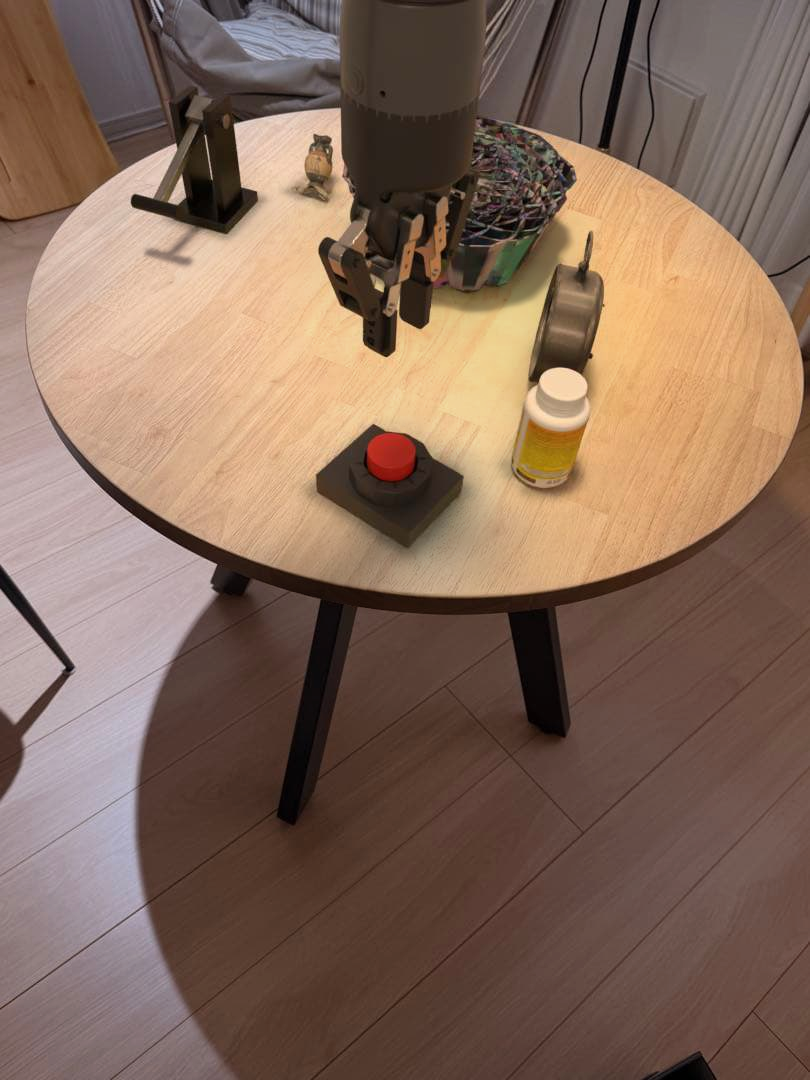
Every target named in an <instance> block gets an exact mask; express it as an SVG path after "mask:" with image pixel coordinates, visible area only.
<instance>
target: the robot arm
mask: <svg viewBox="0 0 810 1080" xmlns="http://www.w3.org/2000/svg"><path fill="white" fill-rule="evenodd" d="M486 38H487V0H341V6H340V16H339V86H340V89H339V90H340V91H339V92H340V143H341V144H340V145H341V146H340V148H341V149H340V150H341V152H340V153H341V158H342V162H343V165H344V164H345V166H346V167H347V169H348V171H349V173H350V175H351V177H352V179H353V181H354V184H355V195H354V198H353V199H352V204H351V207H350V211H349V221H350V225H349V226H348V227H347V229H346V230H345V231H344V232H343V234H342V235H341V236H340V237H339V238H338V240H336V239H333V238H332V237H330V236H325V237H324V238H323V239H321V241H320V243H319V245H318V249H317V253H318V256H319V259H320V261H321V264H322V267H323V269H324V271H325V273H326V276H327V278H328V280H329V283H330V284H331V287H332V290H333V293H334V295H335V296H336V299H337V301H338V303H339V305H340V307H342V308H344V309H346V310H348V311H350V312H352V313H354V314H355V315H357V316H359V317H361V318H362V342H363V343H362V344H363V345H364V346H365V347H367V348H368V349H369V350H371V351H373V352H374V353H377V354H378V355H380V356H382V357H384V358H388V357H390V356H391V355H392V354H393V353H395V352H396V349H397V348H396V347H397V332H398V331H397V330H398V329H397V328H398V315H399V318H400V320H401V321H403V322H404V323H406V324H408V325H410V326H412V327H414V328H415V329H419V330H422V329H423V328H425V327H426V326H427V325H429V324H430V318H431V317H430V316H431V308H432V302H433V301H432V300H433V290H434V287H433V282H434V281H436V280H437V278H438V277H439V275H440V272H441V263H442V262H443V260H446V261H448V262H450V261H452V260H453V258H454V257H455V255H456V252H457V248H458V245H459V242H460V239H461V235H462V232H463V229H464V226H465V222H466V219H467V216H468V213H469V209H470V206H471V203H472V200H473V196H474V193H475V190H476V187H477V183H478V180H479V172H478V171H477V170H474V169H472V168H470V164H471V159H472V151H473V142H474V134H475V125H476V117H477V115H478V109H479V100H480V92H481V85H482V84H481V82H482V75H483V65H484V58H485V50H486ZM445 221H447V222H448V223H449V230H448V233H447V237H446V222H445ZM380 256H381V257H380ZM382 257H383V258H382ZM384 258H385V259H384ZM386 259H388V260H391V261H394V260H395V264H394V263H392V262H390V261H388V260H386ZM377 278H378V279H380V280H382V281H383V284H384V286H383V291H381V290H379V289H378V288H375V286H376V282H377ZM398 305H399V306H398ZM397 308H398V309H397Z"/></svg>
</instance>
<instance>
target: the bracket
mask: <svg viewBox="0 0 810 1080" xmlns="http://www.w3.org/2000/svg"><path fill="white" fill-rule="evenodd" d="M195 95H197V96H200V95H199V88H198V86H193V85H188V86H187V87H186V88H184V89H183V90H182V91H181V92H179V93H178V94H177V95H175V96H174V97H173V98H171V99H170V100H169V101H168V106H169V112H170V117H171V123H172V128H173V134H174V140H175V144H176V150H177V149H178V147H179V145H180V143H181V141H182V139H183V137H184V135H185V133H186V131H187V129H188V127H189V124H188V121H187V119H186V117H185V114H186V112H187V110H188V108H189V106H190V104H191V102H192V100H193V98H194V96H195ZM202 113H203V120H204V126H205V133H206V135H203V134H201V136H200V138H199V140H198V142H197V144H196V146H195V148H194V150H193V152H192V154H191V156H190V158H189V160H188V162H187V164H186V166H185V168H184V170H183V172H182V175H181V177H182V182H183V183H182V184H183V188H184V194H185V197H184V198H183V199H181V201H180V202H179V203H178V204H177V205H179V206H182V207H183V210H184V214H183V218H182V219H181V220H176V219H173V220H174V221H178V222H182V223H185V224H189V225H193V226H197V227H201V228H204V229H208V230H211V231H215V232H219V233H222V234H225V235H227V234H228V233H229V232H230V231H231V230H232V228H234V226H236V224H238V222H239V221H240V220H241V219H242V218H243V217H244V216H245V215H246V214H247V213H248V212H249V211H250V210H251V208H252V207H253V206H254V205H255V204H256V203H257V202H258V201H259V197H258V191H257V190H253V189H250V188H246V187H243V186H242V180H241V179H242V178H241V170H240V164H239V163H240V162H239V155H238V146H237V140H236V130H235V122H234V114H233V113H234V112H233V106H232V99H231V94H228V93H223V92H221V94H220V95H218V96H217V97H216V98H215V99H213V101H212V102H211V103H210V104H209V105H208V106H207V107H205V108H204V109H203V110H202Z"/></svg>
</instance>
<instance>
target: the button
mask: <svg viewBox="0 0 810 1080" xmlns="http://www.w3.org/2000/svg"><path fill="white" fill-rule="evenodd" d="M415 452H416V451H415V446H414V444H413V443H412V442H411V440H409V439H408V438H407V437H405V436H403V435H400V434H396V433H385V434H381V435H378V436H376V437H375V438H374V439H372V440H371V442H370V443H369V445H368V449H367V466H368V469H369V471H370V472H371V473H372V475H374V476H375V477H376V478H378V479H380V480H383V481H389V482H394V481H400V480H403V479H405V478H406V477H408V476H409V475H410V474H411V473H412V471H413V469H414V464H415Z"/></svg>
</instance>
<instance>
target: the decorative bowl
mask: <svg viewBox="0 0 810 1080" xmlns="http://www.w3.org/2000/svg"><path fill="white" fill-rule="evenodd" d="M470 168H472V169H474V170H477V171H478V172H479V180H478V183H477V187H476V190H475V193H474V196H473V200H472V203H471V206H470V209H469V213H468V216H467V219H466V222H465V226H464V229H463V232H462V235H461V239H460V242H459V245H458V248H457V252H456V255H455V257H454V258H453V260H452V261H450V262H448V261H446V260H443V262H442V263H441V272H440V275H439V277H438V278H437V280H436V281H434V282H433V289H434V288H435V289H443V288H445V287H447V286H448V288H449V289H452V290H455V291H458V292H460V293H463V294H470V293H474V292H478V291H480V290H481V289H482V288H483V287H484V286H487V287H494V288H495V287H501V286H503V285H505V284H507V282H508V281H509V279H510V278H511V277H512V276H513V275H515V274H517V272H518V270H519V269H520V267H521V266H522V264H523V263H525V262H526V261H527V259H528V257H529V256H530V254H531V253H532V251H533V249H534V248H535V246H536V245H537V243H538V241H539V240H540V238H541V237H542V235H543V234H544V232H545V230H546V229H547V228H548V226H549V224H550V223H552V222H553V221H554V219H555V216H556V214H557V213H559V212H560V211H561V209H562V208H563V206H564V204H566V203H567V200H568V197H567V191H569V190H571V189H572V187H573V186H574V185H575V183H576V182H577V181H578V179H577V174H576V169H575V166H574V165H573V164H571V163H570V162H569V161H568V160H567V159H566V158H564V157H563V156H562V155H561V154H559V152H558V150H557V149H556V148H554V146H553V145H552V144H551V143H550V142H548V141H547V140H546V139H544V137H542V136H541V135H539V134H537V133H535V132H533V131H530V130H527V129H524V128H520V127H518V126H517V125H515V124H514V123H513V124H512V123H508V122H504V121H500V120H496V119H493V118H490V117H485V116H482V115H479V114H477V117H476V125H475V134H474V142H473V151H472V159H471V164H470ZM341 178H343V180H344V181H345V182H346V183H347V186H348V190H349V194H351V195H352V198H353V199H354V195H355V184H354V181H353V179H352V177H351V175H350V173H349V171H348V169H347V167H346V166H345V164H344V163H343V169H342V176H341ZM445 222H446V237H447V233H448V230H449V223H448V222H447V221H445ZM380 257H381V256H380ZM382 258H383V257H382ZM384 259H385V258H384ZM386 260H388V259H386ZM388 261H390V262H392V263H394V264H395V260H394V261H391V260H388Z"/></svg>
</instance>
